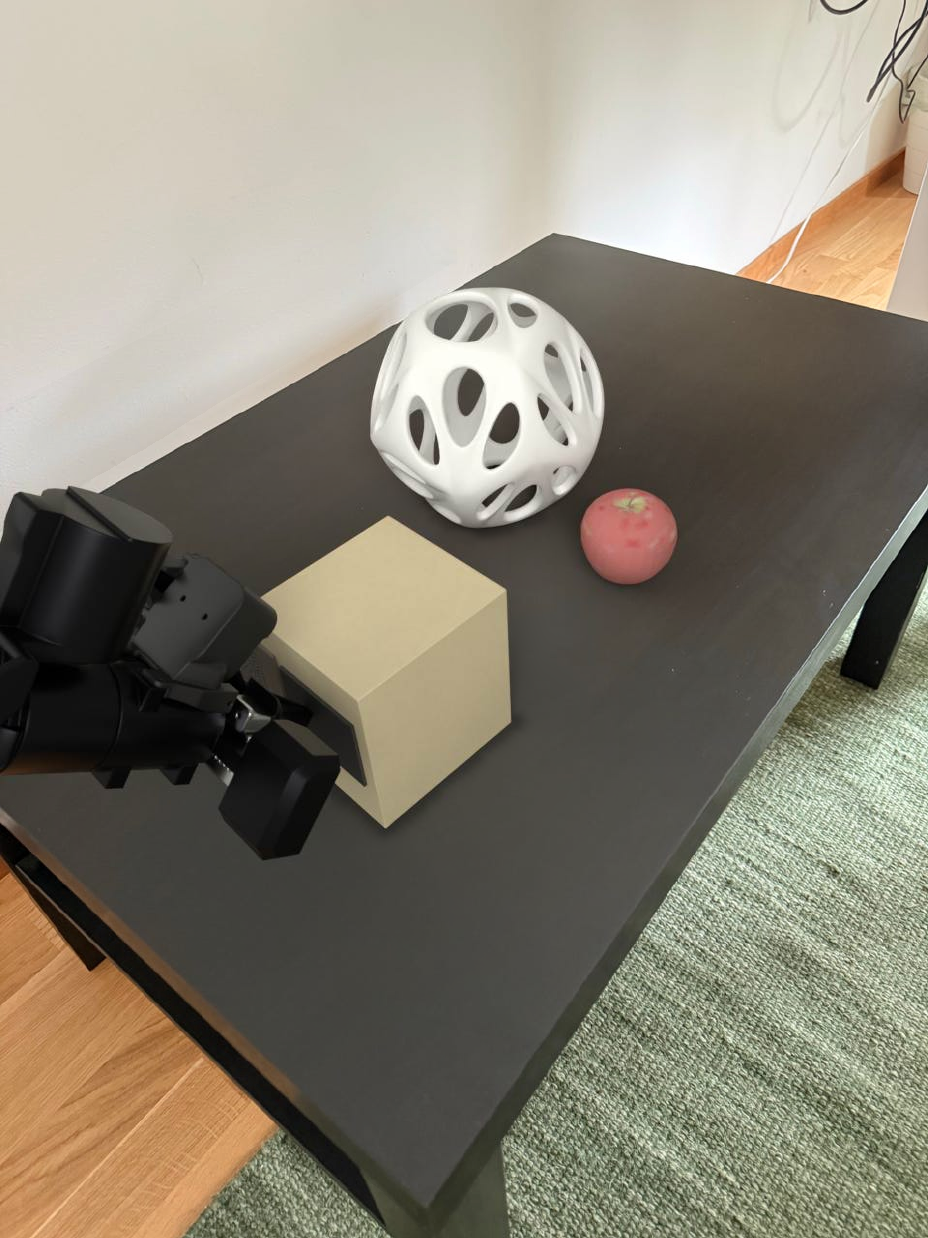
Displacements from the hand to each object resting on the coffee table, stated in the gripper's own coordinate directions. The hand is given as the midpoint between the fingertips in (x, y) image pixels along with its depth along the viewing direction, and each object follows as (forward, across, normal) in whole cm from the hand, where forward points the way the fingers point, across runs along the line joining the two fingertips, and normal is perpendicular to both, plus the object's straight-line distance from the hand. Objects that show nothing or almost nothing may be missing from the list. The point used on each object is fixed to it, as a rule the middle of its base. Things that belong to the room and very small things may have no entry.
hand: (307, 717), depth 58 cm
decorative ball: (+27, +14, -16) cm, 35 cm away
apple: (+27, -2, -15) cm, 31 cm away
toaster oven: (+10, 0, +1) cm, 10 cm away
